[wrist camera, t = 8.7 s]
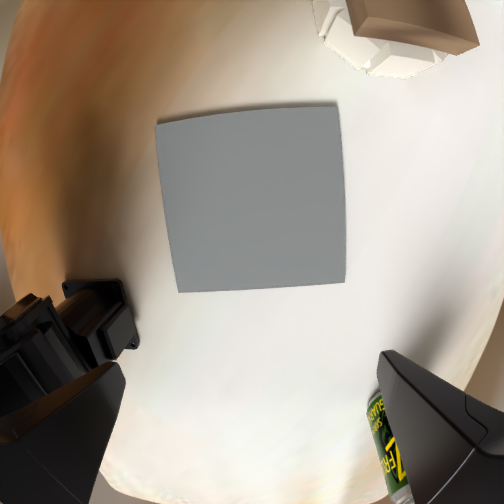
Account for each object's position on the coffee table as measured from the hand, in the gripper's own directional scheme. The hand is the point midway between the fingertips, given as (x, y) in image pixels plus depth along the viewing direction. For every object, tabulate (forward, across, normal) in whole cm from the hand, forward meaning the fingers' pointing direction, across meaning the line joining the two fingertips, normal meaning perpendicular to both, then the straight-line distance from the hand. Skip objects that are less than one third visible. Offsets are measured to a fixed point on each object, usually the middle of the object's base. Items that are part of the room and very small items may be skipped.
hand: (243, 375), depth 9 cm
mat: (+12, 0, -4) cm, 12 cm away
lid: (+7, -10, -17) cm, 21 cm away
